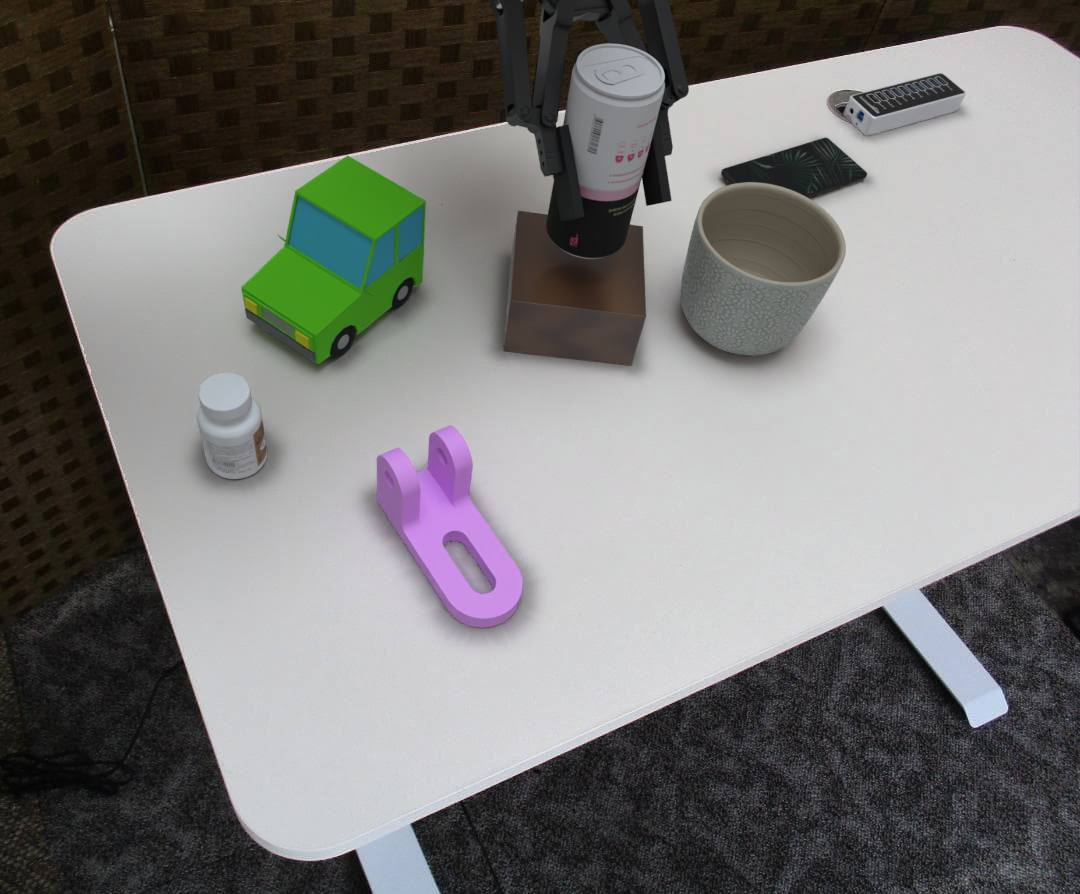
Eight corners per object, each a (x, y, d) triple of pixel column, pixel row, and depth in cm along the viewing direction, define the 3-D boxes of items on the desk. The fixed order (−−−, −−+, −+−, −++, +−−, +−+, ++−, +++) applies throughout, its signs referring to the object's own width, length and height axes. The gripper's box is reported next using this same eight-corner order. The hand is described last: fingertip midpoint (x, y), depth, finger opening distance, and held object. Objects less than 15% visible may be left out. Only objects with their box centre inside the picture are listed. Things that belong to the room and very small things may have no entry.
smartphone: (869, 173, 104) (762, 209, 98) (865, 181, 105) (759, 217, 98) (826, 135, 107) (720, 167, 101) (823, 143, 108) (717, 176, 102)
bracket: (377, 501, 73) (376, 445, 68) (442, 471, 76) (447, 415, 70) (467, 641, 68) (475, 592, 62) (535, 604, 70) (548, 554, 64)
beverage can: (529, 223, 80) (554, 55, 68) (592, 198, 83) (627, 33, 71) (578, 273, 78) (613, 107, 66) (641, 245, 81) (686, 82, 69)
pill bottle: (277, 467, 74) (267, 402, 68) (219, 489, 72) (204, 424, 66) (254, 425, 76) (242, 358, 70) (197, 446, 74) (181, 379, 68)
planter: (826, 328, 90) (873, 237, 82) (751, 399, 84) (793, 308, 76) (719, 256, 95) (753, 162, 86) (638, 318, 88) (667, 223, 80)
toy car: (233, 323, 82) (217, 230, 74) (341, 242, 89) (338, 149, 81) (327, 385, 79) (321, 295, 71) (431, 297, 87) (436, 206, 79)
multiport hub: (958, 110, 115) (968, 93, 113) (866, 136, 110) (874, 118, 108) (933, 89, 117) (941, 71, 115) (841, 113, 112) (848, 95, 110)
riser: (503, 351, 84) (510, 300, 79) (510, 261, 90) (517, 210, 86) (631, 365, 85) (646, 316, 80) (629, 276, 91) (643, 225, 87)
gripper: (658, -108, 76) (702, 196, 81) (416, -92, 70) (479, 237, 75) (709, -150, 69) (754, 185, 74) (445, -136, 63) (513, 229, 68)
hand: (616, 210), depth 74 cm, fingers closed on beverage can, 6 cm apart
